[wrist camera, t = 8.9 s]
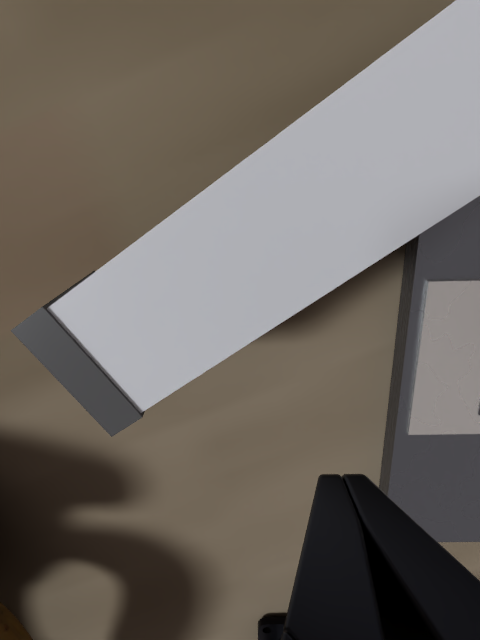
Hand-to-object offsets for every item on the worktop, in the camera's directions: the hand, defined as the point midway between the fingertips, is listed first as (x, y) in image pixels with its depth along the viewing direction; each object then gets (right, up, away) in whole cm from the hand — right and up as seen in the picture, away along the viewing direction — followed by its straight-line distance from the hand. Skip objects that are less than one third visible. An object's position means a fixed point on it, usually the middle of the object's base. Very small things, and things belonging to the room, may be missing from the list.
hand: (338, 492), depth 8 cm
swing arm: (+1, +8, +6) cm, 10 cm away
